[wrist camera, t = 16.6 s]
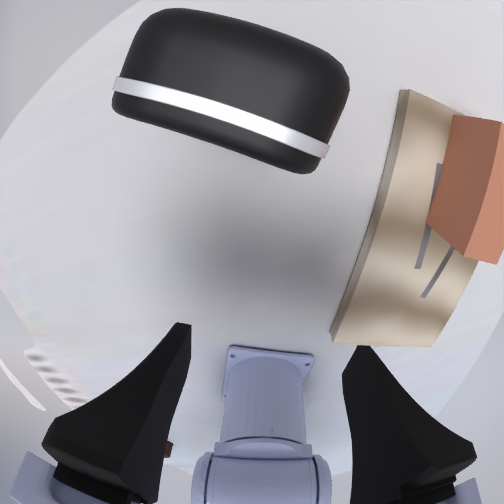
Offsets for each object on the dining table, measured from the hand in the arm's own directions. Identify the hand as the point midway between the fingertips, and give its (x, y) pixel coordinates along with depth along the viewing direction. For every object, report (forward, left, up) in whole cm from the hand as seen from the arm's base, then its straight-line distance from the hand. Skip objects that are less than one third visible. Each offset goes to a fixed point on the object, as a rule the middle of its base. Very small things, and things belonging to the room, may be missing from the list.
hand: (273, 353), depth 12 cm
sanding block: (+9, -12, -8) cm, 17 cm away
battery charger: (+10, +3, -10) cm, 15 cm away
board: (+3, -12, -10) cm, 16 cm away
